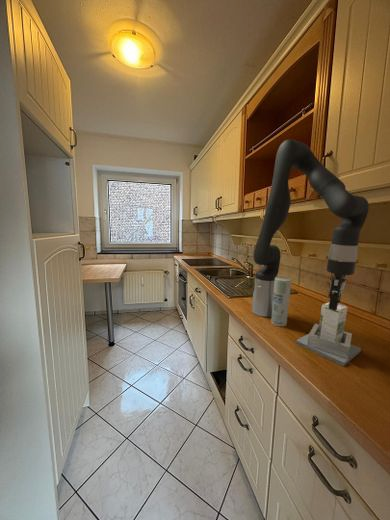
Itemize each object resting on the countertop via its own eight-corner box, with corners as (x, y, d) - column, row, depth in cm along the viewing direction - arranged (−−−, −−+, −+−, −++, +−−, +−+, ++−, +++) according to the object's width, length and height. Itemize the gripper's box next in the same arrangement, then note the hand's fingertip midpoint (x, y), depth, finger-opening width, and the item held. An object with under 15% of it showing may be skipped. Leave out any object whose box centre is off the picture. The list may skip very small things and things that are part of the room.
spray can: (289, 324, 90) (294, 279, 87) (280, 327, 87) (285, 281, 84) (276, 318, 96) (280, 276, 92) (267, 321, 92) (271, 277, 89)
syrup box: (323, 338, 77) (328, 300, 75) (342, 346, 72) (348, 306, 70) (316, 342, 74) (321, 303, 72) (334, 351, 69) (340, 309, 67)
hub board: (295, 343, 75) (296, 340, 75) (315, 332, 83) (315, 330, 83) (343, 366, 63) (344, 362, 63) (360, 351, 71) (361, 348, 71)
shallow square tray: (307, 345, 72) (308, 334, 71) (313, 333, 81) (315, 323, 80) (347, 359, 65) (349, 347, 64) (350, 344, 73) (352, 333, 73)
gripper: (331, 255, 76) (324, 297, 78) (324, 259, 65) (317, 308, 68) (357, 258, 71) (349, 303, 74) (355, 263, 60) (345, 315, 63)
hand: (334, 305), depth 71 cm, fingers open, 8 cm apart
